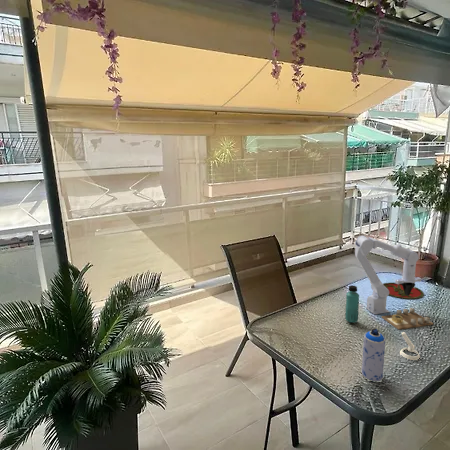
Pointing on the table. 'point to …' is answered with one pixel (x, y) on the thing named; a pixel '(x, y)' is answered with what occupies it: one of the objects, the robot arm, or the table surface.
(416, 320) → the board
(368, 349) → the aerosol can
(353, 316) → the beverage bottle
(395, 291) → the decorative plate
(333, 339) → the table surface
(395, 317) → the brass nut
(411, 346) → the hook
